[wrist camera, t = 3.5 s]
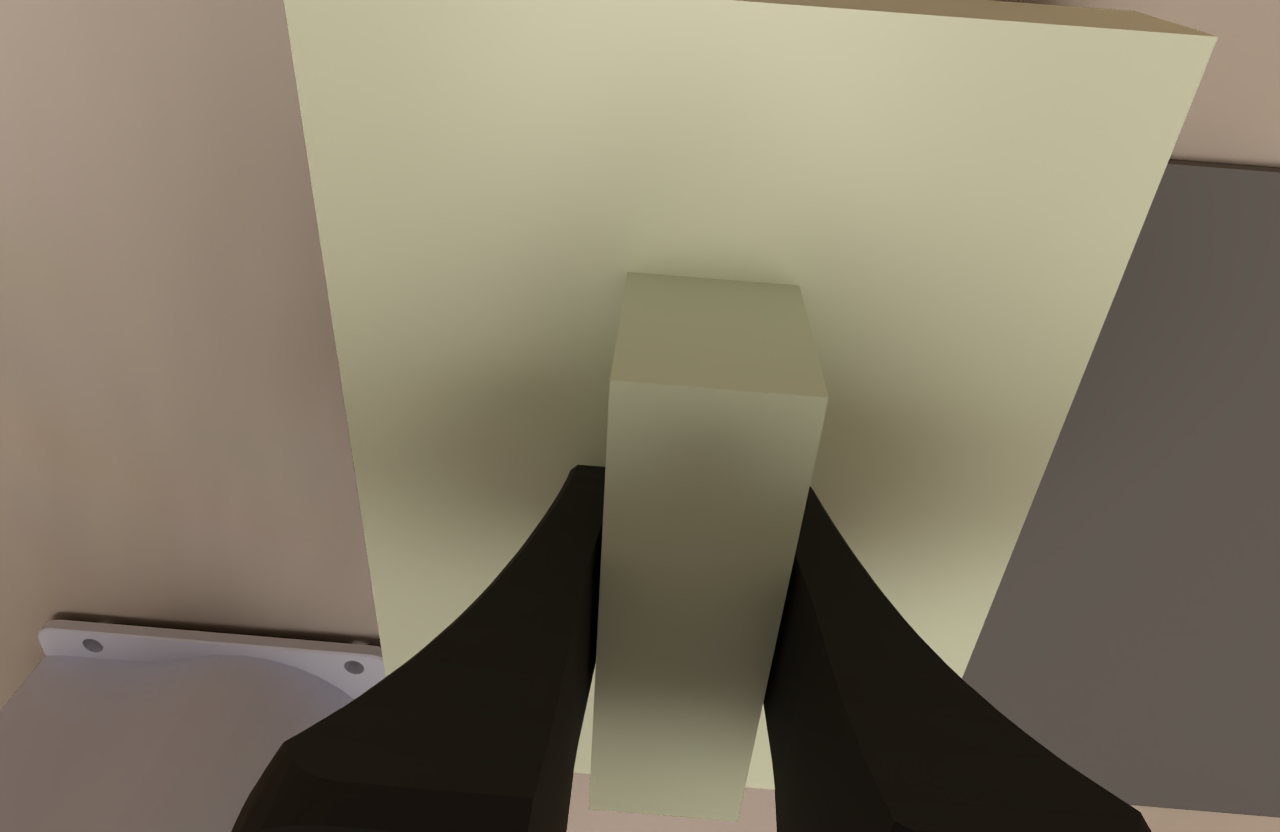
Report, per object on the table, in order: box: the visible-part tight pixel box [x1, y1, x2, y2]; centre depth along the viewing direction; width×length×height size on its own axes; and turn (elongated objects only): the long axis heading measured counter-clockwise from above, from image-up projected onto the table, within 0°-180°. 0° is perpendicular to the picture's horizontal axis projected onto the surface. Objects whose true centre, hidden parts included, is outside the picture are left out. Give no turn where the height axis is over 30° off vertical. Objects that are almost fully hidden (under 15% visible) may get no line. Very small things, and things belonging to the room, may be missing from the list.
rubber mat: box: [962, 160, 1280, 817], centre depth 20 cm, size 15×18×1 cm
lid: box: [284, 0, 1218, 822], centre depth 14 cm, size 11×15×5 cm
